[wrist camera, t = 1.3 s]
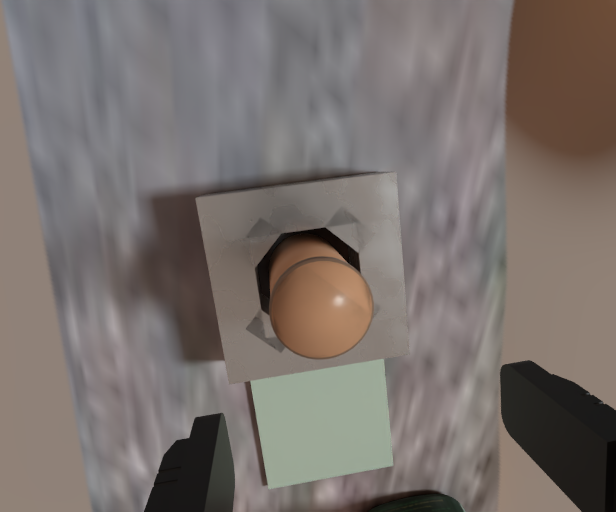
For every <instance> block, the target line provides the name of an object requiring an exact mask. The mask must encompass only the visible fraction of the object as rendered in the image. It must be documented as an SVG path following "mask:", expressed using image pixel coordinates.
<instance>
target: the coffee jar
mask: <svg viewBox="0 0 616 512" xmlns="http://www.w3.org/2000/svg"><path fill="white" fill-rule="evenodd" d="M368 512H465V510H464V509H463V507H462V506H461V504H460V503H459V502H458V501H457V500H455V499H454V498H452V497H450V496H447V495H443V494H430V495H421V496H413V497H409V498H404V499H400V500H396V501H392V502H389V503H386V504H382V505H379V506H377V507H375V508H373V509H371V510H370V511H368Z"/></svg>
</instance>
